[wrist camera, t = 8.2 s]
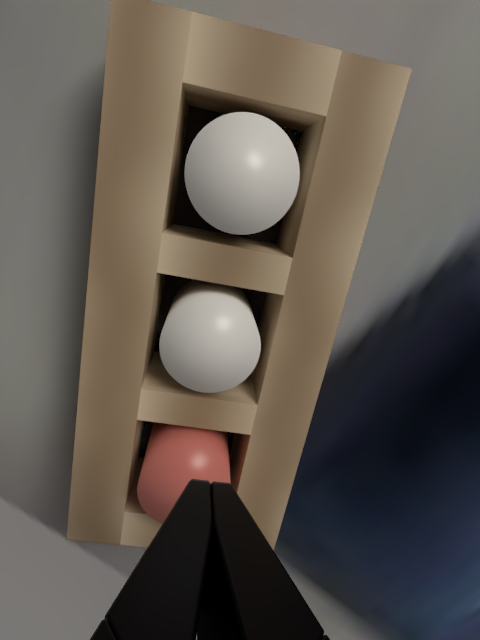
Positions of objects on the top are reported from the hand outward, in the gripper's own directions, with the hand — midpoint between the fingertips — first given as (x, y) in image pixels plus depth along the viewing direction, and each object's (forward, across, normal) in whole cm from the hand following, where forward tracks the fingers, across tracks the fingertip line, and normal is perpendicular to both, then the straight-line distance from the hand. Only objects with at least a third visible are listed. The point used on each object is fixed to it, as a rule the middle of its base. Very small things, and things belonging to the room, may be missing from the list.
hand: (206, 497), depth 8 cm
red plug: (+11, 0, +6) cm, 13 cm away
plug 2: (+12, 0, 0) cm, 12 cm away
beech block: (+12, 0, 0) cm, 12 cm away
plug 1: (+12, 0, -6) cm, 14 cm away
